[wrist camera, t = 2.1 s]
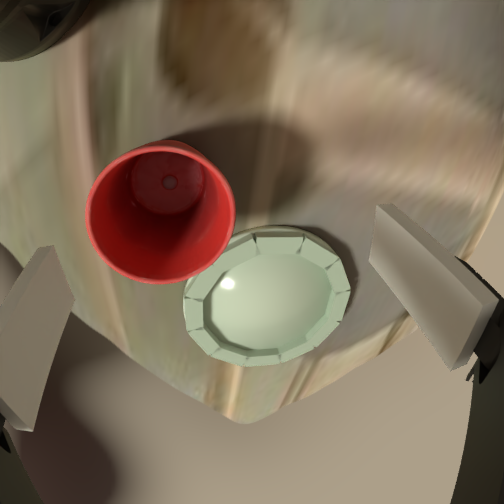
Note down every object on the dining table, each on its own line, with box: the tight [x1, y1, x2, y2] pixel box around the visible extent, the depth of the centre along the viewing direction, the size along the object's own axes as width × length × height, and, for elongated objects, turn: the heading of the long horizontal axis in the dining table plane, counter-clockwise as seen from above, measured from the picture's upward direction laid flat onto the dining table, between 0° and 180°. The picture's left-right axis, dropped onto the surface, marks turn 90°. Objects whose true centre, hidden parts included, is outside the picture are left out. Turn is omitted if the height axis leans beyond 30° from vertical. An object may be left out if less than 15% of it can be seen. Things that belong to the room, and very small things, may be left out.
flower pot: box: [85, 140, 236, 284], centre depth 26 cm, size 11×11×10 cm
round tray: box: [183, 225, 351, 367], centre depth 38 cm, size 20×20×2 cm
